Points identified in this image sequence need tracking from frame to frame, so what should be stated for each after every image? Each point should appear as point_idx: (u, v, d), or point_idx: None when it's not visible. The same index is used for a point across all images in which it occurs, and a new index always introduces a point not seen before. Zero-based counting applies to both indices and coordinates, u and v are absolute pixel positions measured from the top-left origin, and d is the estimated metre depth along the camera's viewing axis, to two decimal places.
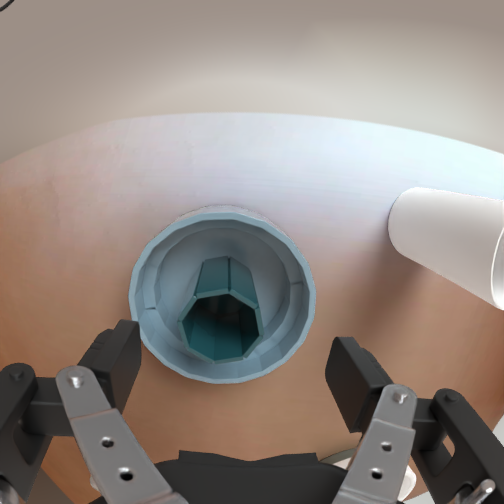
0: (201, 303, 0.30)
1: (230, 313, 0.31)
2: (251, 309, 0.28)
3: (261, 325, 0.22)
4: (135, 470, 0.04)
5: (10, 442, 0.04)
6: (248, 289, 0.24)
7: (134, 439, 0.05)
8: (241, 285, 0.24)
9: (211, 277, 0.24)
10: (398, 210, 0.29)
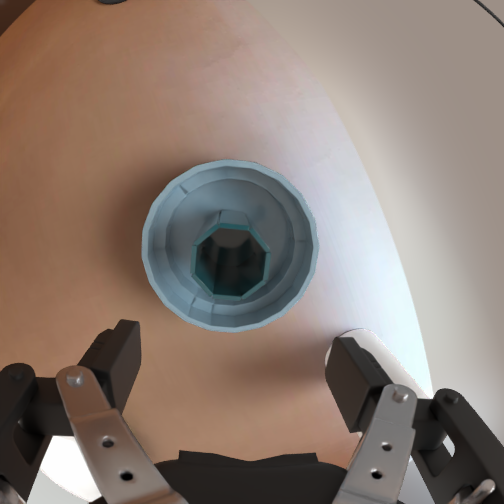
0: None
1: (211, 259, 0.32)
2: (234, 275, 0.30)
3: (251, 293, 0.25)
4: (135, 470, 0.04)
5: (10, 442, 0.04)
6: None
7: (134, 439, 0.05)
8: None
9: (256, 229, 0.27)
10: (358, 335, 0.36)
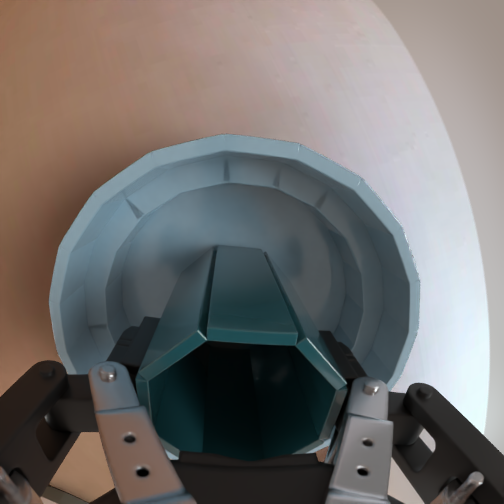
0: None
1: None
2: (245, 380, 0.14)
3: None
4: (152, 467, 0.04)
5: (32, 437, 0.05)
6: None
7: (157, 437, 0.05)
8: None
9: (301, 312, 0.11)
10: None
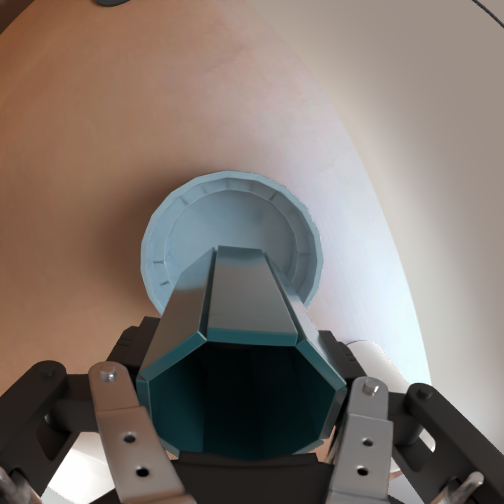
0: None
1: None
2: (245, 380, 0.14)
3: None
4: (152, 467, 0.04)
5: (32, 437, 0.05)
6: None
7: (157, 437, 0.05)
8: None
9: (301, 312, 0.11)
10: (361, 347, 0.35)
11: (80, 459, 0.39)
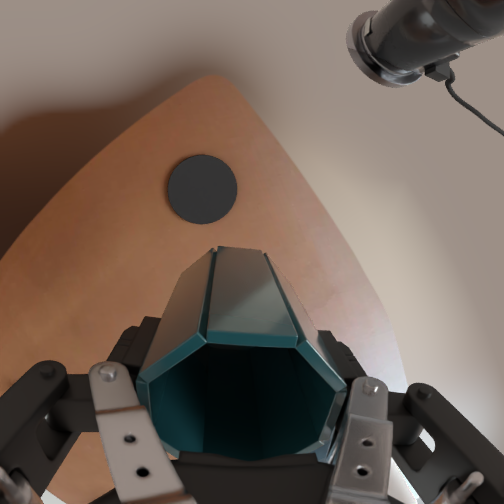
0: None
1: None
2: (246, 381, 0.14)
3: None
4: (152, 467, 0.04)
5: (32, 438, 0.05)
6: None
7: (157, 437, 0.05)
8: None
9: (301, 313, 0.11)
10: None
11: None
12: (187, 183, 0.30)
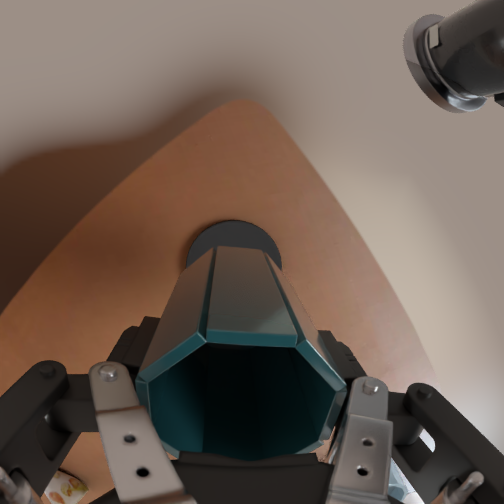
0: None
1: None
2: (245, 381, 0.14)
3: None
4: (152, 467, 0.04)
5: (32, 437, 0.05)
6: None
7: (157, 437, 0.05)
8: None
9: (301, 313, 0.11)
10: (408, 500, 0.35)
11: None
12: None
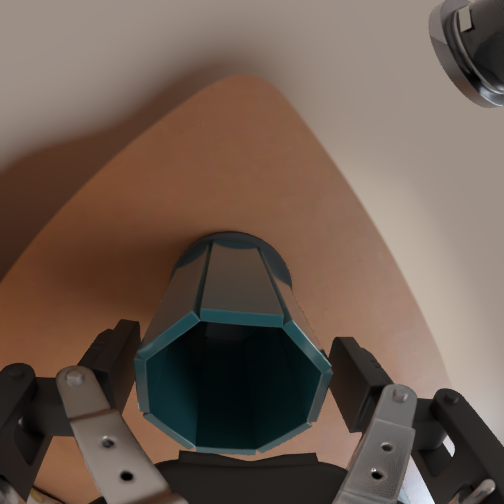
0: None
1: (196, 330, 0.17)
2: (239, 369, 0.15)
3: (279, 443, 0.10)
4: (135, 470, 0.04)
5: (10, 442, 0.04)
6: None
7: (134, 439, 0.05)
8: None
9: (290, 300, 0.11)
10: None
11: None
12: None
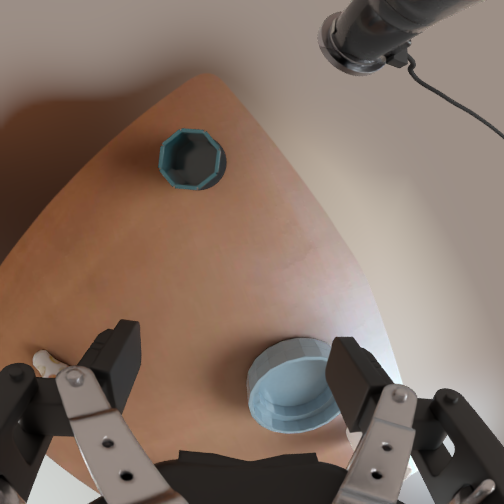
0: (178, 154, 0.37)
1: (182, 177, 0.38)
2: None
3: (205, 183, 0.30)
4: (135, 470, 0.04)
5: (10, 442, 0.04)
6: (219, 166, 0.32)
7: (134, 439, 0.05)
8: (220, 160, 0.32)
9: None
10: None
11: None
12: None
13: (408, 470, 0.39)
